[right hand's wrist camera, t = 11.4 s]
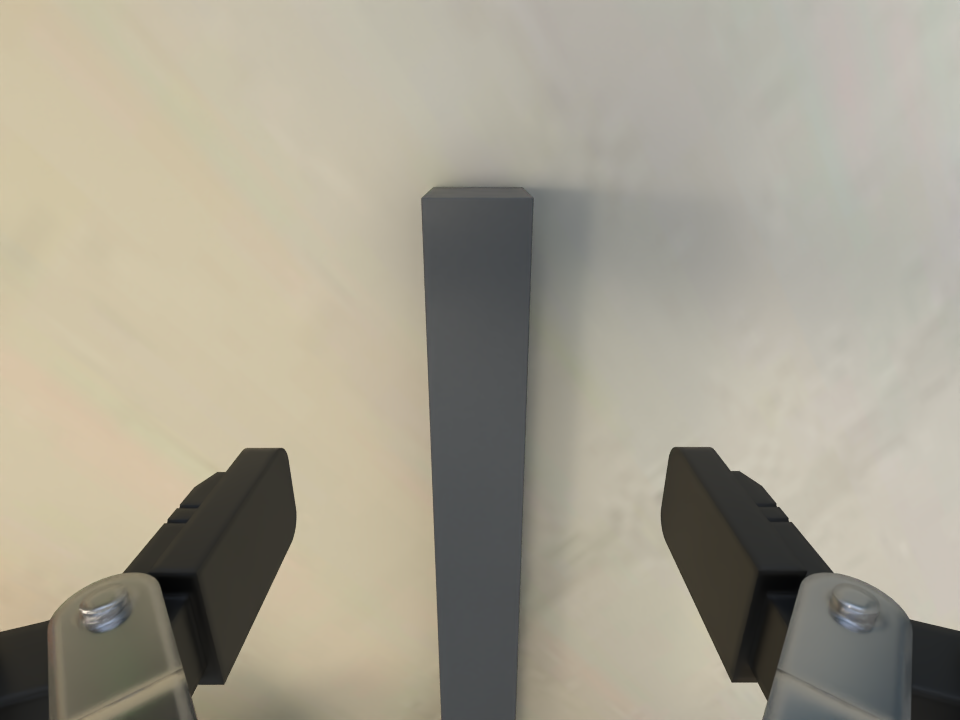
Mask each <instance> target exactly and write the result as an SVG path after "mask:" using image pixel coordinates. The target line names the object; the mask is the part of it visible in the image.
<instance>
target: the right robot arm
mask: <svg viewBox="0 0 960 720" xmlns="http://www.w3.org/2000/svg"><path fill="white" fill-rule="evenodd" d="M661 525H662V531H663V535H664V538H665V541H666V543H667V545H668V547H669V549H670V552H671V554H672V556H673V558H674V560H675V562H676V564H677V567H678V569H679V571H680V573H681V575H682V577H683V579H684V581H685V584H686V586H687V588H688V590H689V592H690V594H691V596H692V599H693V601H694V603H695V605H696V607H697V609H698V611H699V614H700V616H701V618H702V620H703V622H704V624H705V626H706V628H707V631H708V633H709V635H710V637H711V639H712V641H713V643H714V646H715V648H716V650H717V652H718V654H719V656H720V658H721V660H722V663H723V665H724V667H725V669H726V671H727V673H728V675H729V678H730V680H731V682H758V684H759V686H760V688H761V690H762V692H763V694H764V695H765V697H766V699H767V705H766V708H765V712H764V715H763V719H762V720H960V631H957V630H953V629H948V628H944V627H940V626H935V625H931V624H927V623H923V622H918V621H914V620H910V619H909V618H908V616H907V614H906V613H905V612H904V610H903V609H902V608H901V607H900V606H899V605H898V604H897V603H896V602H895V601H894V600H893V599H892V598H890V597H889V596H888V595H886V594H885V593H883V592H882V591H880V590H879V589H877V588H875V587H874V586H872V585H870V584H868V583H866V582H863V581H861V580H859V579H856V578H853V577H850V576H846V575H842V574H837V573H833V571H832V570H831V569H830V568H829V567H828V565H827V564H826V563H825V562H824V561H823V559H822V558H821V557H820V556H819V555H818V553H817V552H816V551H815V550H814V548H813V547H812V546H811V545H810V544H809V542H808V541H807V540H806V539H805V538H804V536H803V535H802V534H801V533H800V532H799V530H798V529H797V528H796V527H795V525H794V524H793V523H792V522H789V520H788V517H787V516H786V515H785V513H784V512H783V511H782V510H781V509H780V507H777V506H776V502H775V501H774V500H773V499H772V498H771V496H770V495H769V494H768V493H767V492H766V490H765V489H764V488H763V487H762V486H761V485H760V484H758V483H756V482H755V481H753V480H752V479H750V478H749V477H747V476H746V475H744V474H743V473H741V472H740V471H730V470H729V468H728V467H727V466H726V464H725V463H724V462H723V460H722V459H721V458H720V457H719V455H718V454H717V453H716V451H715V450H714V449H713V448H711V447H674V448H672V450H671V452H670V455H669V460H668V466H667V473H666V480H665V486H664V493H663V500H662V506H661ZM295 528H296V506H295V499H294V493H293V486H292V480H291V473H290V466H289V460H288V455H287V453H286V451H285V449H283V448H246V449H244V450H243V451H242V452H241V453H240V455H239V456H238V457H237V458H236V460H235V461H234V462H233V464H232V465H231V466H230V467H229V469H228V470H227V471H226V472H217V473H215V474H214V475H212V476H211V477H209V478H208V479H206V480H205V481H203V482H202V483H200V484H199V485H197V486H196V487H194V488H193V490H192V491H191V492H190V493H189V494H188V496H187V497H186V498H185V499H184V500H183V502H182V503H181V504H180V508H177V509H176V510H175V511H174V512H173V514H172V515H171V516H170V517H169V518H168V522H167V523H164V524H163V526H162V527H161V528H160V529H159V530H158V532H157V533H156V534H155V535H154V536H153V538H152V539H151V540H150V541H149V542H148V544H147V545H146V546H145V547H144V548H143V550H142V551H141V552H140V553H139V554H138V556H137V557H136V558H135V559H134V560H133V562H132V563H131V564H130V565H129V566H128V568H127V569H126V570H125V571H124V572H123V574H118V575H114V576H110V577H107V578H104V579H101V580H99V581H97V582H94V583H92V584H90V585H88V586H86V587H85V588H83V589H81V590H80V591H78V592H77V593H75V594H74V595H72V596H71V597H70V598H68V599H67V600H66V601H65V602H64V603H63V604H62V605H61V606H60V607H59V608H58V609H57V610H56V612H55V613H54V614H53V616H52V618H51V619H50V620H49V621H45V622H41V623H37V624H33V625H28V626H24V627H20V628H16V629H11V630H7V631H3V632H0V720H198V719H197V715H196V712H195V708H194V705H193V701H192V698H191V697H192V695H193V693H194V691H195V689H196V687H197V685H224V684H225V682H226V680H227V677H228V675H229V673H230V671H231V669H232V667H233V665H234V663H235V661H236V658H237V656H238V654H239V652H240V650H241V648H242V646H243V644H244V642H245V639H246V637H247V635H248V633H249V631H250V629H251V627H252V625H253V623H254V620H255V618H256V616H257V614H258V612H259V610H260V608H261V606H262V604H263V601H264V599H265V597H266V595H267V593H268V591H269V589H270V587H271V585H272V583H273V580H274V578H275V576H276V574H277V572H278V570H279V568H280V566H281V564H282V561H283V559H284V557H285V555H286V553H287V551H288V549H289V547H290V545H291V542H292V540H293V537H294V533H295Z"/></svg>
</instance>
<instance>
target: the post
mask: <svg viewBox="0 0 960 720" xmlns="http://www.w3.org/2000/svg"><path fill="white" fill-rule="evenodd" d="M421 203H422V229H423V255H424V281H425V306H426V332H427V358H428V384H429V410H430V435H431V461H432V487H433V513H434V538H435V564H436V590H437V616H438V641H439V667H440V693H441V719H442V720H515V719H516V690H517V661H518V632H519V603H520V574H521V545H522V516H523V487H524V459H525V430H526V401H527V372H528V343H529V314H530V285H531V256H532V227H533V197H532V196H531V195H530V194H529V193H528V192H527V191H526V190H525V189H524V188H522V187H434V188H432V189H431V190H430V191H429V192H428V193H427V194H425V195H424V196H423V197H422V198H421Z"/></svg>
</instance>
